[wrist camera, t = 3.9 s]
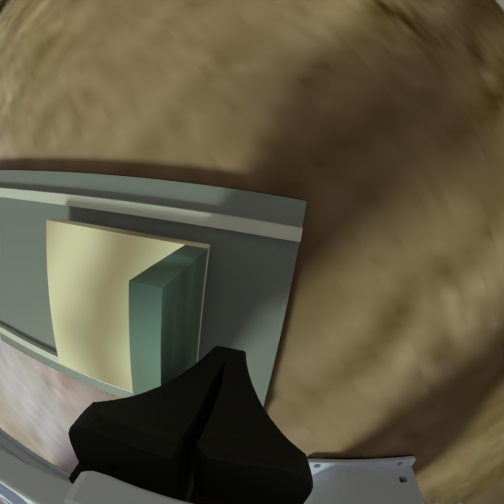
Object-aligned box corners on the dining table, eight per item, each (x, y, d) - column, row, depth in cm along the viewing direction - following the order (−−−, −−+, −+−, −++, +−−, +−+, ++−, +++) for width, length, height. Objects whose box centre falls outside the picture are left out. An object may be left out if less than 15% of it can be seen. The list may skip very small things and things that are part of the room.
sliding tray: (215, 242, 14) (162, 288, 7) (199, 394, 16) (166, 478, 9) (62, 216, 14) (-25, 236, 8) (70, 352, 16) (12, 404, 10)
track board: (305, 200, 14) (307, 201, 13) (257, 423, 17) (256, 436, 16) (-5, 169, 15) (-16, 170, 14) (7, 336, 18) (-2, 341, 17)
